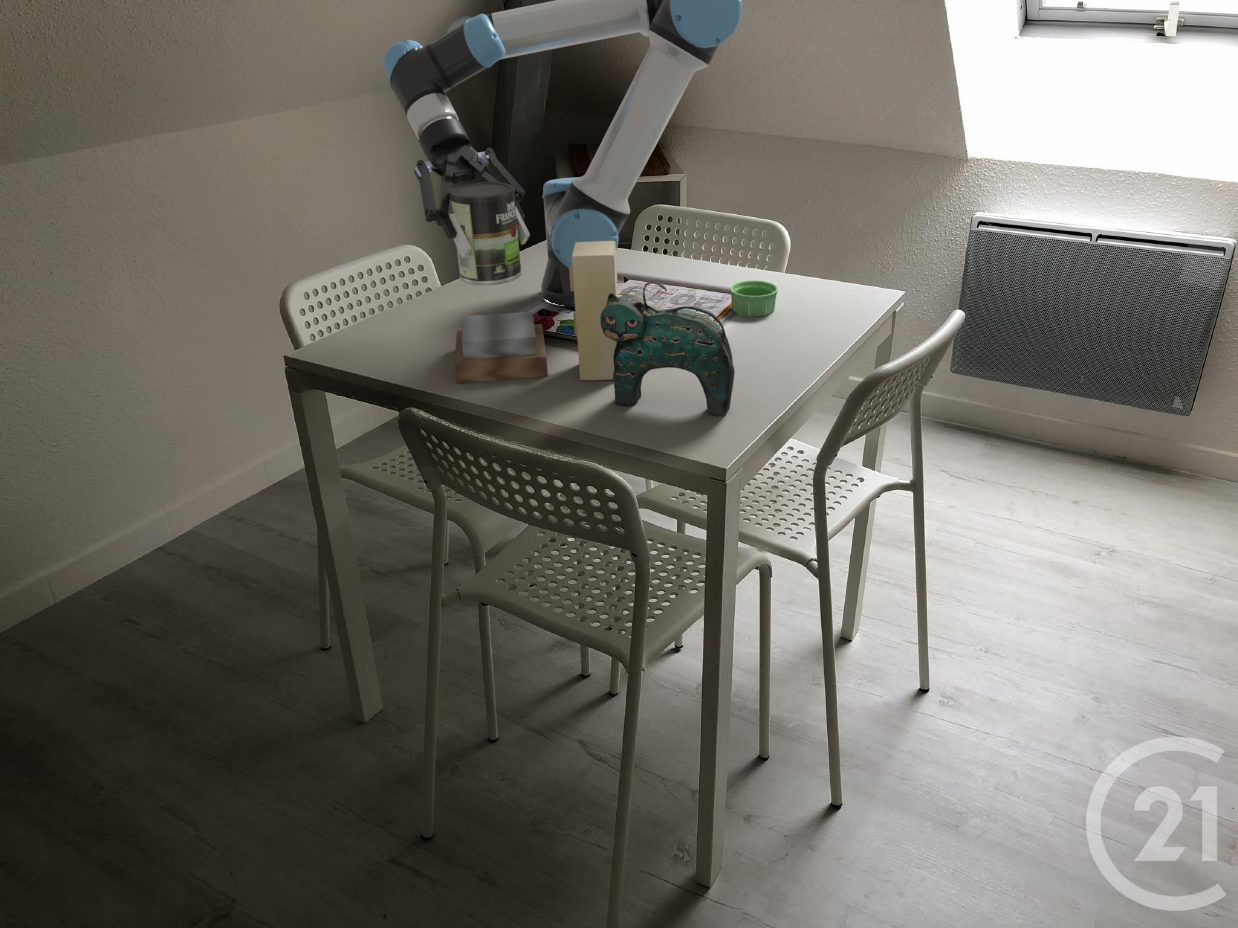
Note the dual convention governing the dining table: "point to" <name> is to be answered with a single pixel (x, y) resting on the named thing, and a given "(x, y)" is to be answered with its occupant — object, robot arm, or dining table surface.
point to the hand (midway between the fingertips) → (496, 246)
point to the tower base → (501, 363)
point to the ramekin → (753, 298)
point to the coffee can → (487, 232)
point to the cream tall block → (593, 306)
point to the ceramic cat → (667, 348)
